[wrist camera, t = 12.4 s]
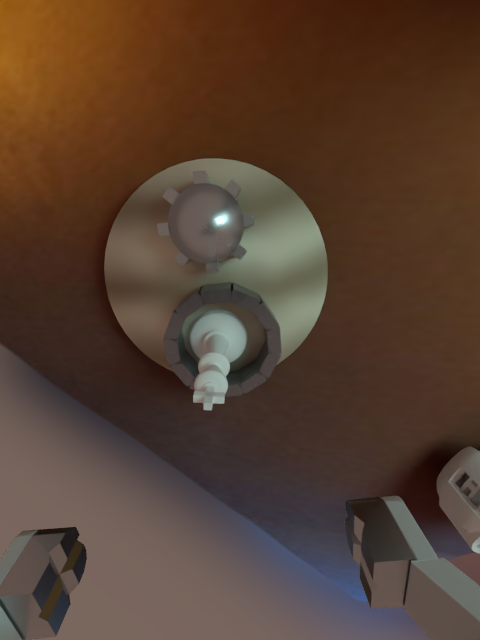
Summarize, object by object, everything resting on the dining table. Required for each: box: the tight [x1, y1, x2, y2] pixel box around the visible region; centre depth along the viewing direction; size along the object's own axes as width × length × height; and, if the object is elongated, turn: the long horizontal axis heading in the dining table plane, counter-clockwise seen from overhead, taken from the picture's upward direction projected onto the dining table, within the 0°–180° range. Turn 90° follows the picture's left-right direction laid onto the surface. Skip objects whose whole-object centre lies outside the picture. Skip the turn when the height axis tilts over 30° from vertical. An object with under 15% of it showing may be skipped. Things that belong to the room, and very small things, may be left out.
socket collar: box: [163, 282, 282, 397], centre depth 23 cm, size 9×9×2 cm
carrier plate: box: [104, 158, 328, 371], centre depth 24 cm, size 18×18×2 cm
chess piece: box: [190, 309, 247, 410], centre depth 19 cm, size 5×5×10 cm
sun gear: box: [157, 170, 255, 274], centre depth 20 cm, size 6×6×3 cm
